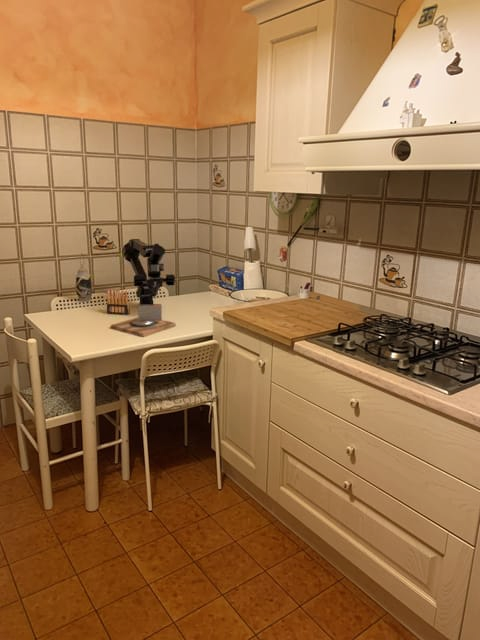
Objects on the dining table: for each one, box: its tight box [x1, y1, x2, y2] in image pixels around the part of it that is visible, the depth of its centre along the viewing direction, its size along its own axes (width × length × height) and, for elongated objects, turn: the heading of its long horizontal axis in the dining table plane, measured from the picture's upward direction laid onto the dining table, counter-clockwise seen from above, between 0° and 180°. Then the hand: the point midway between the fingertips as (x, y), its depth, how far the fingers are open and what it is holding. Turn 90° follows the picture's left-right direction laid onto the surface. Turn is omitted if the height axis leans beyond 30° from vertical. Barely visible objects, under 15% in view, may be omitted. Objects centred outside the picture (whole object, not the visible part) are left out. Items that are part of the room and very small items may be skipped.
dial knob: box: [132, 303, 163, 326], centre depth 217 cm, size 13×10×8 cm
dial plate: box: [110, 316, 177, 338], centre depth 218 cm, size 20×20×2 cm
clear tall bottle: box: [75, 253, 93, 302], centre depth 260 cm, size 9×8×25 cm
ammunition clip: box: [106, 289, 130, 316], centre depth 237 cm, size 11×2×12 cm, turn 83°
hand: (155, 295), depth 225 cm, fingers closed
